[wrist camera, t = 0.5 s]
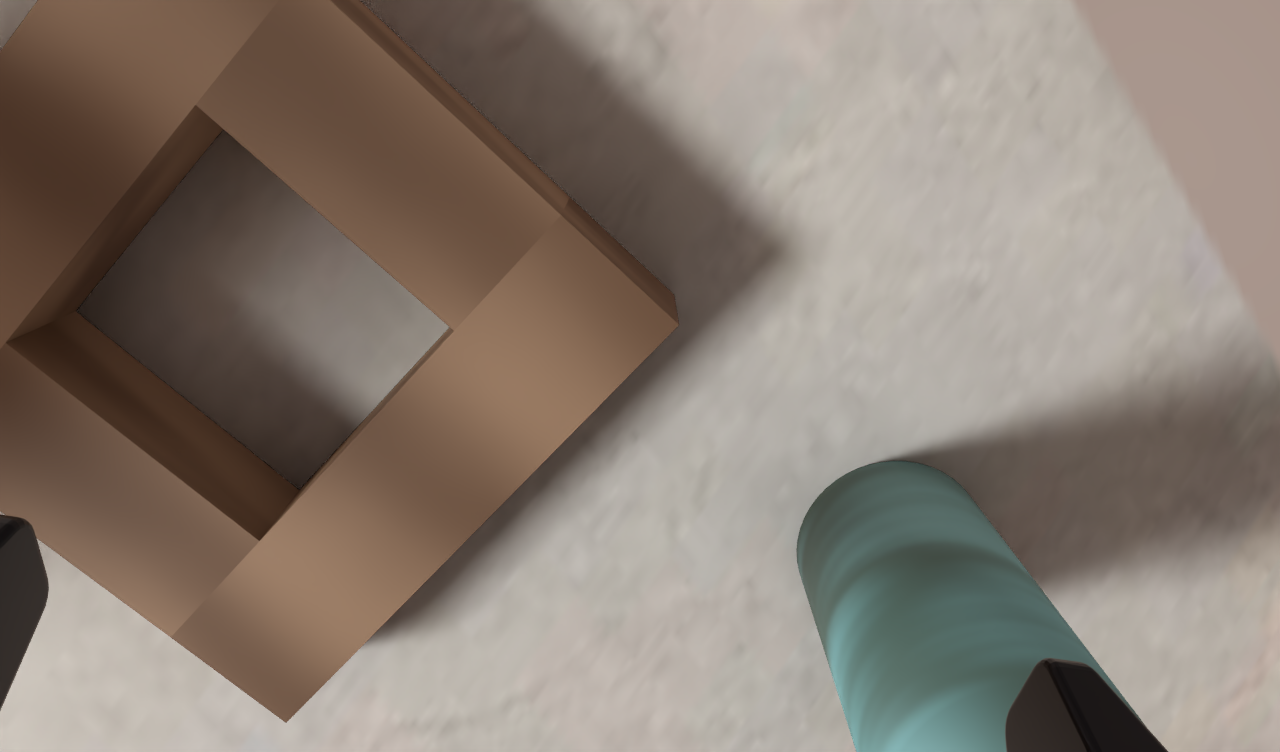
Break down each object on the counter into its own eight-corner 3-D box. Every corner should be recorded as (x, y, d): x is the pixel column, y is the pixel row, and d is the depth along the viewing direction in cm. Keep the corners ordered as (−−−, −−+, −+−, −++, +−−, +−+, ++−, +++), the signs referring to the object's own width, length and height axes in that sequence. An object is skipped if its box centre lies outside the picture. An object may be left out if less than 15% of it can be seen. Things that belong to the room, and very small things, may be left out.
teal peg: (884, 663, 29) (1008, 964, 19) (757, 551, 28) (822, 810, 18) (1022, 544, 28) (1226, 800, 18) (895, 423, 27) (1041, 626, 17)
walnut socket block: (321, 656, 29) (286, 723, 26) (-124, 316, 26) (-219, 348, 23) (674, 295, 26) (679, 324, 23) (216, -134, 23) (156, -162, 20)
